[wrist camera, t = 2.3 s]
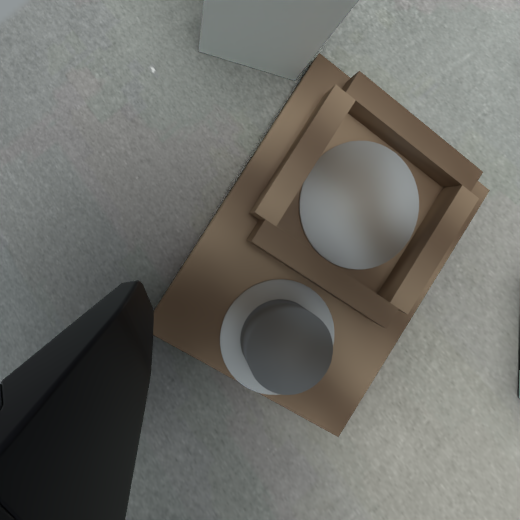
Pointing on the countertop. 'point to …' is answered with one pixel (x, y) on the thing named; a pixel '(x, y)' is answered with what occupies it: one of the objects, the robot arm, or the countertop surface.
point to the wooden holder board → (322, 248)
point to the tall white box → (270, 31)
